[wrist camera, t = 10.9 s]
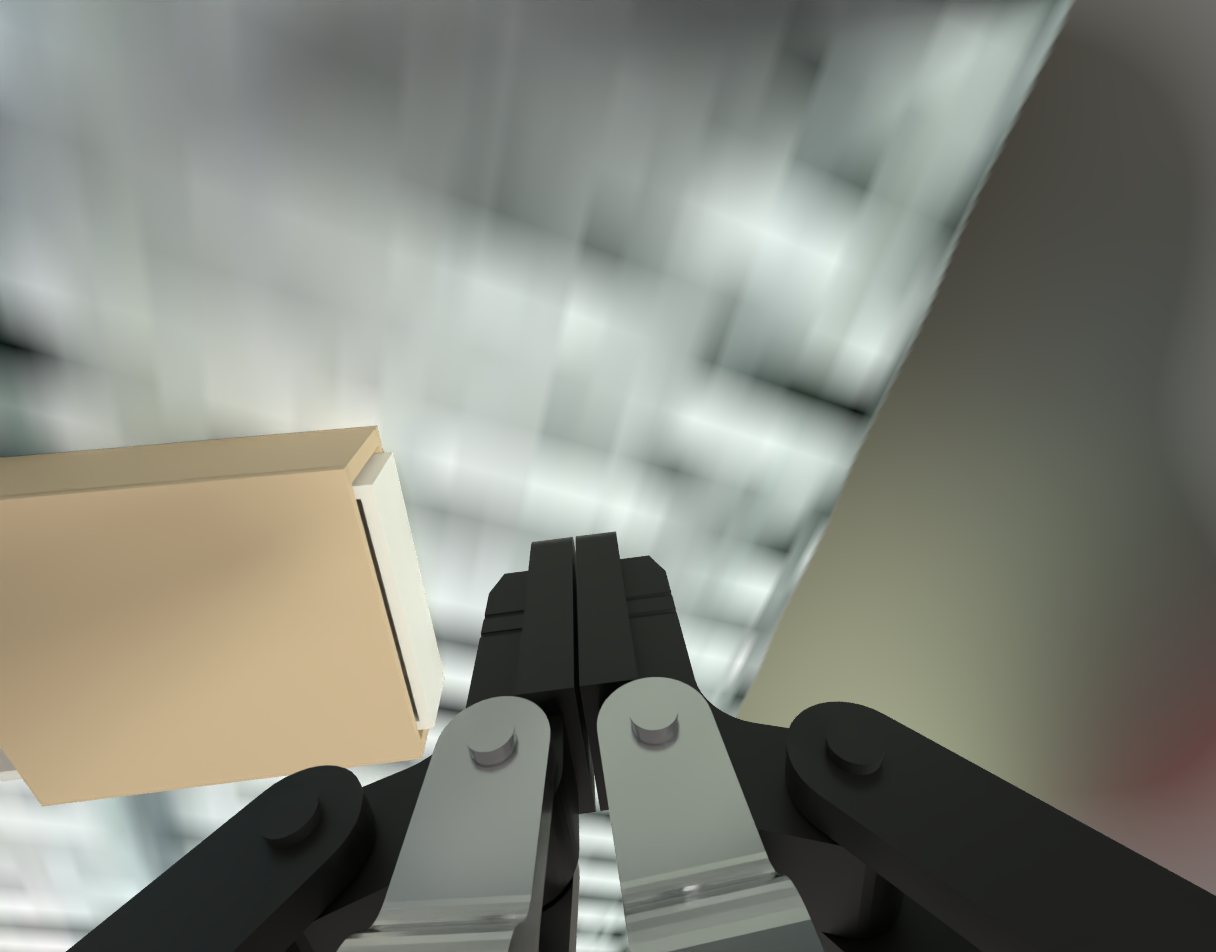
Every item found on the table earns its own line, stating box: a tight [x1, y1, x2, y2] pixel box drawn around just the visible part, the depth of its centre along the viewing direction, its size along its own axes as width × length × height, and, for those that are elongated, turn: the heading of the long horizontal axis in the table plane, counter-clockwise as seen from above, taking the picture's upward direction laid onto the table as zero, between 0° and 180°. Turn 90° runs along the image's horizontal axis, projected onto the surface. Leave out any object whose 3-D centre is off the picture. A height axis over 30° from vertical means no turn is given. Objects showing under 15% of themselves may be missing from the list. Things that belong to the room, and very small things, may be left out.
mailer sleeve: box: [0, 426, 429, 806], centre depth 27 cm, size 18×16×5 cm
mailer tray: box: [0, 452, 445, 781], centre depth 27 cm, size 32×14×4 cm, turn 93°
